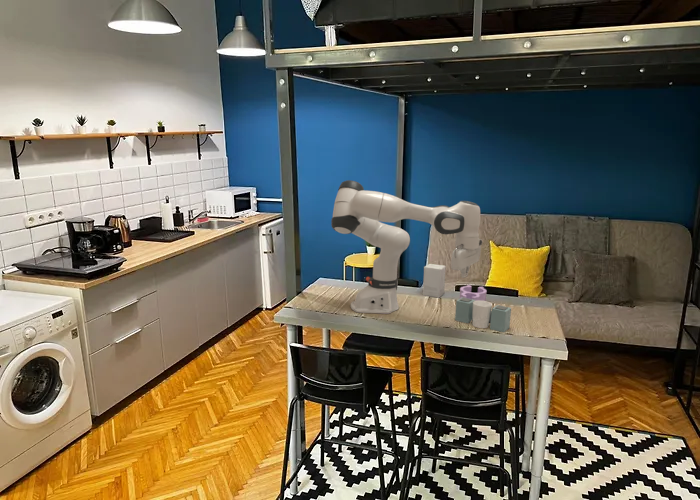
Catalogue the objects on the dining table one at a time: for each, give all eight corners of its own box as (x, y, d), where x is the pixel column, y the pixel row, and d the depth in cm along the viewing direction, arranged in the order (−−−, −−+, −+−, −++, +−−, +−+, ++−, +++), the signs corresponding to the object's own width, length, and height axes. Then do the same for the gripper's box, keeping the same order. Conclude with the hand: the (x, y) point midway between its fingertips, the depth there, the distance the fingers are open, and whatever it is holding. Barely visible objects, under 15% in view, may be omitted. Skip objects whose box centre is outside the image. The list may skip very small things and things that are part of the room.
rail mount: (504, 332, 208) (506, 310, 206) (454, 320, 220) (456, 299, 218) (510, 326, 214) (513, 305, 212) (462, 315, 227) (464, 295, 225)
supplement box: (444, 293, 259) (446, 265, 256) (439, 298, 251) (441, 269, 248) (427, 290, 263) (429, 263, 260) (422, 295, 255) (423, 266, 252)
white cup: (489, 323, 218) (491, 301, 216) (490, 329, 210) (492, 307, 208) (470, 321, 219) (472, 299, 217) (471, 327, 212) (473, 305, 210)
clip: (481, 313, 231) (483, 298, 230) (454, 309, 236) (455, 295, 234) (487, 300, 249) (488, 287, 248) (461, 297, 254) (462, 284, 252)
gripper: (463, 248, 186) (460, 283, 189) (484, 240, 202) (481, 273, 205) (447, 245, 190) (445, 280, 193) (469, 237, 206) (467, 270, 209)
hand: (464, 276), depth 199 cm, fingers closed
